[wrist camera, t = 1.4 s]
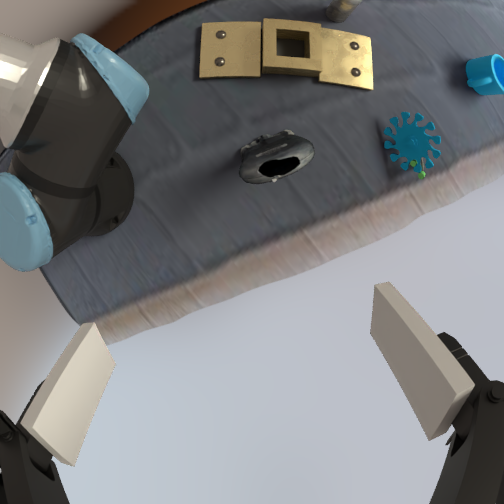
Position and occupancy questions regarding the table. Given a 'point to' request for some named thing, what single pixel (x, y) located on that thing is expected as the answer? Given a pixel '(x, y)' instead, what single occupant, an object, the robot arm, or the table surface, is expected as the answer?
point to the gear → (412, 143)
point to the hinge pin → (341, 9)
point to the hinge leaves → (314, 64)
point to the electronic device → (274, 157)
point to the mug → (486, 74)
